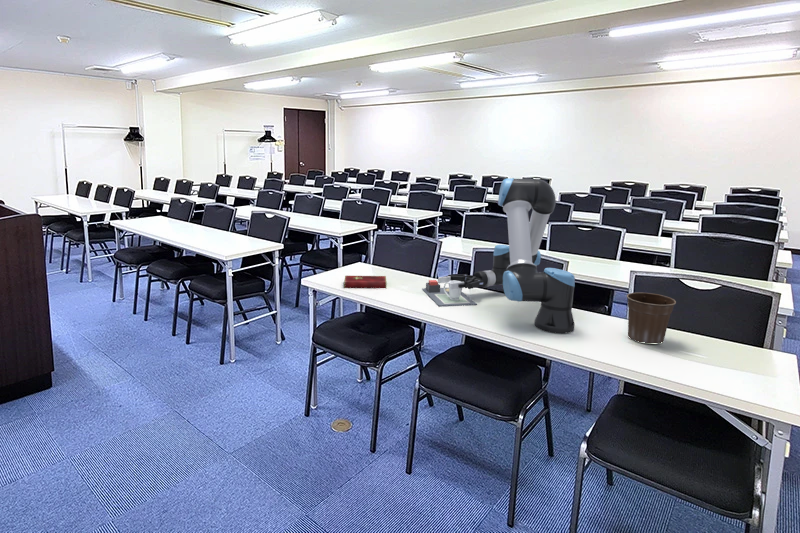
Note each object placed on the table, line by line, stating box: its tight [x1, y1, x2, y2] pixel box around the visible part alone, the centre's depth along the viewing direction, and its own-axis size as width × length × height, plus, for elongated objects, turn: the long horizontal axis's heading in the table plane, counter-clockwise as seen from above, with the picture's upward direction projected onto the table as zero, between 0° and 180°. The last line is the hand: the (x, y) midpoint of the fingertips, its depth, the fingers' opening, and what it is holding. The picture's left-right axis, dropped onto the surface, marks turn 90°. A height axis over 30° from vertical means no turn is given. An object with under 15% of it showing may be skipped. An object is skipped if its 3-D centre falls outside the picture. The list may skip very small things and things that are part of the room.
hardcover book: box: [343, 275, 388, 289], centre depth 243 cm, size 12×21×4 cm, turn 94°
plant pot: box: [626, 292, 677, 344], centre depth 178 cm, size 16×16×16 cm
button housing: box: [425, 282, 441, 293], centre depth 234 cm, size 6×6×4 cm
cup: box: [443, 280, 463, 301], centre depth 221 cm, size 7×10×8 cm
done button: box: [428, 279, 439, 285], centre depth 234 cm, size 4×4×3 cm
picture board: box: [421, 287, 478, 308], centre depth 227 cm, size 28×18×1 cm, turn 13°
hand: (444, 283), depth 219 cm, fingers open, 10 cm apart
